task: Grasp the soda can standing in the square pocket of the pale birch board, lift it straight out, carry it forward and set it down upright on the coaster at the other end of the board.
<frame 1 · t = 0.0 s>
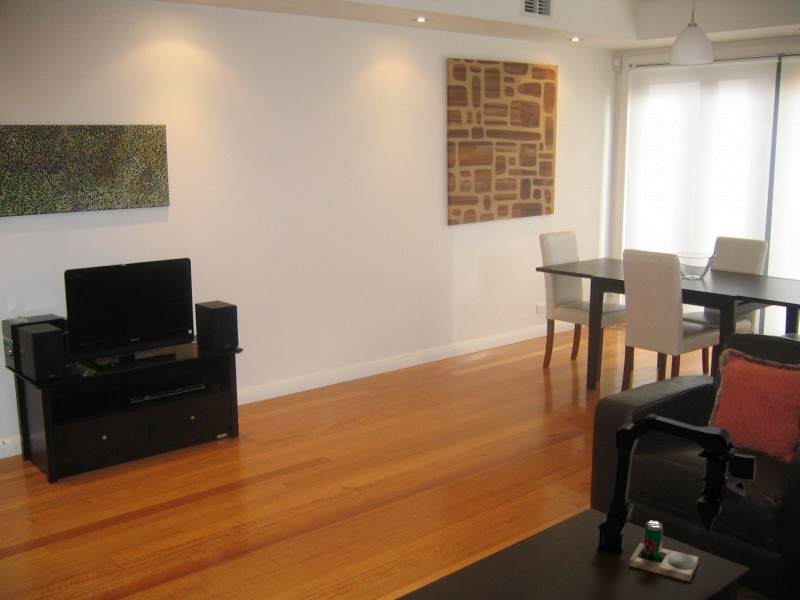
hand: (711, 524, 231), 15 cm above the table, fingers open, 9 cm apart
soda can: (651, 562, 239), resting in pocket board
pocket board: (665, 564, 237), on the table
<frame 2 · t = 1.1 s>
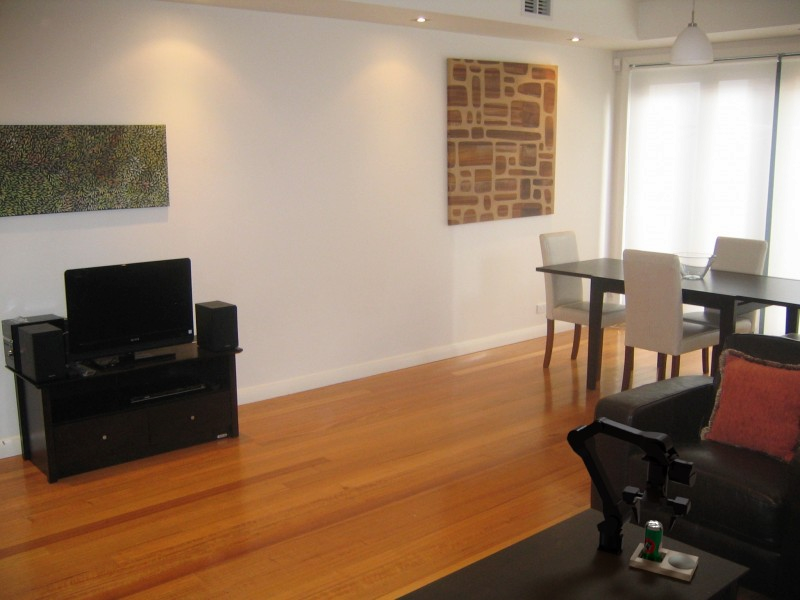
hand: (653, 527, 237), 11 cm above the table, fingers open, 9 cm apart
nothing on the table moved.
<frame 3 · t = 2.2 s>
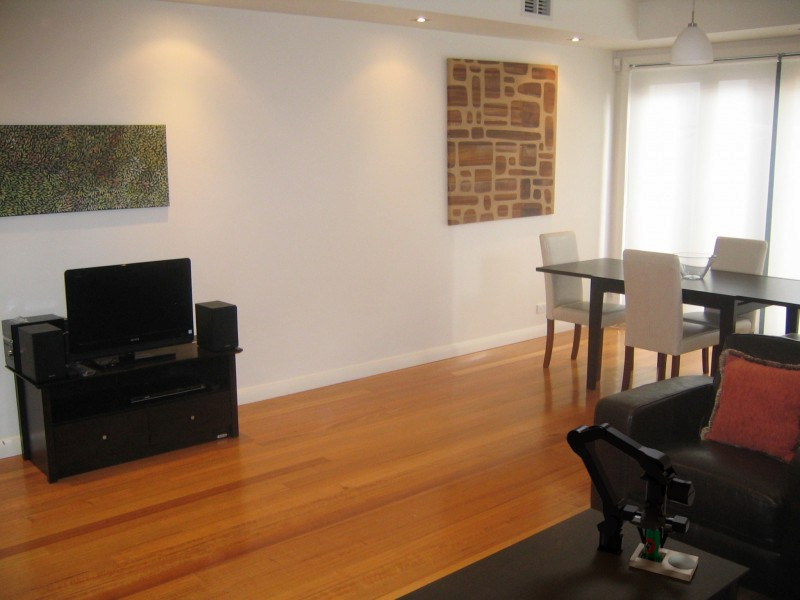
hand: (652, 545, 238), 5 cm above the table, fingers closed on soda can, 5 cm apart
soda can: (651, 562, 239), resting in pocket board, touching gripper
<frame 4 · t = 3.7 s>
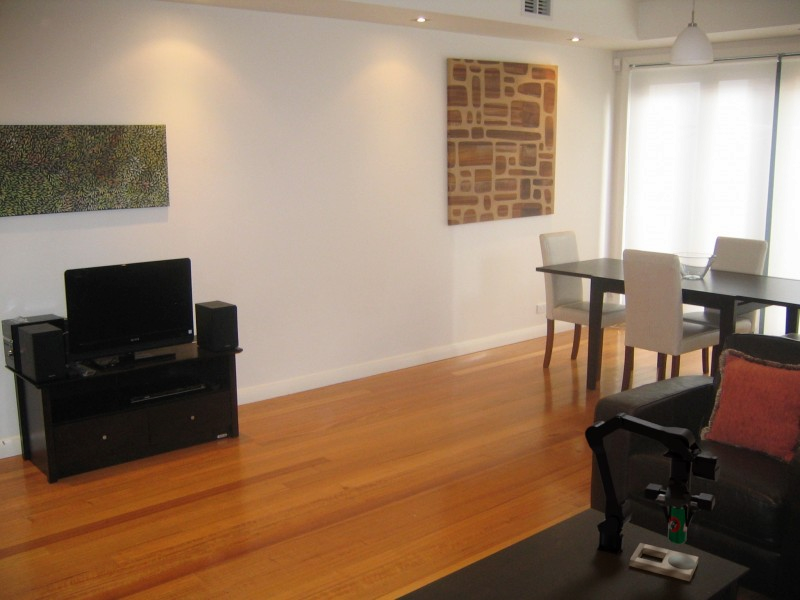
hand: (677, 524, 234), 13 cm above the table, fingers closed on soda can, 5 cm apart
soda can: (676, 541, 234), point 8 cm above the table, touching gripper
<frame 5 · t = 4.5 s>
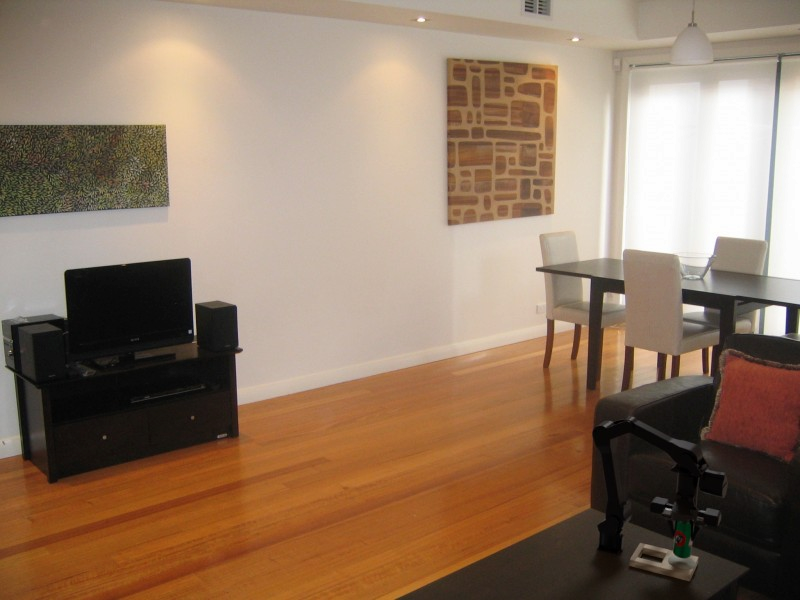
hand: (683, 538, 233), 9 cm above the table, fingers closed on soda can, 5 cm apart
soda can: (681, 555, 234), point 4 cm above the table, touching gripper
when the fingers open (8 cm above the table, at t = 5.1 s): soda can stays where it is, resting on pocket board.
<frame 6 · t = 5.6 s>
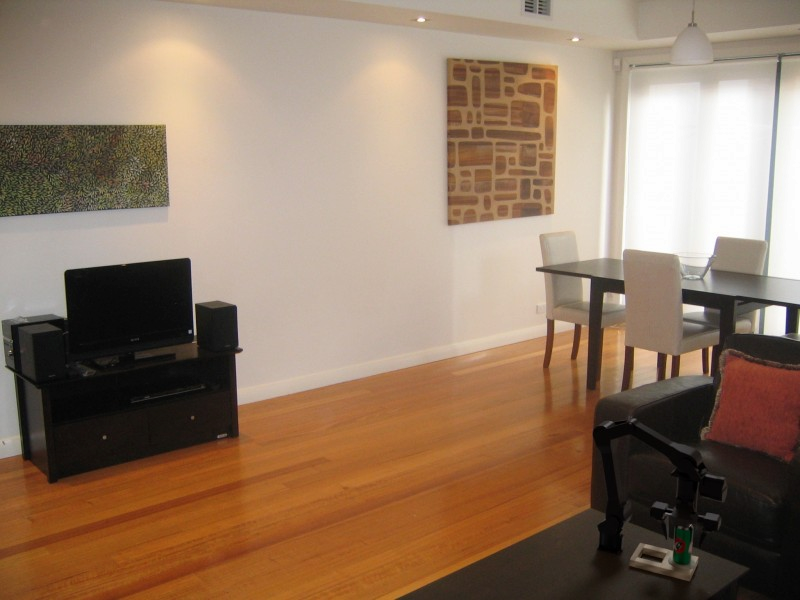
hand: (683, 543, 234), 8 cm above the table, fingers open, 9 cm apart
soda can: (681, 562, 235), point 2 cm above the table, touching pocket board
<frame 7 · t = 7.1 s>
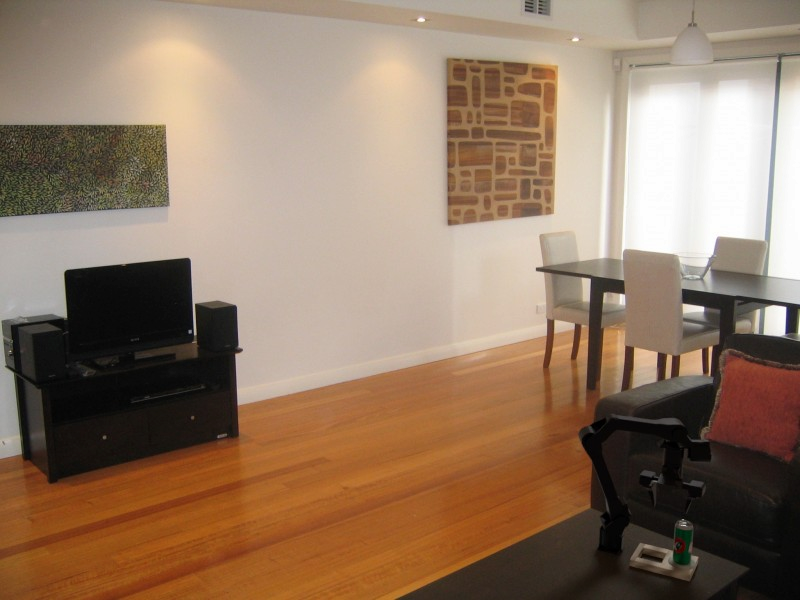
hand: (669, 510, 244), 13 cm above the table, fingers open, 9 cm apart
nothing on the table moved.
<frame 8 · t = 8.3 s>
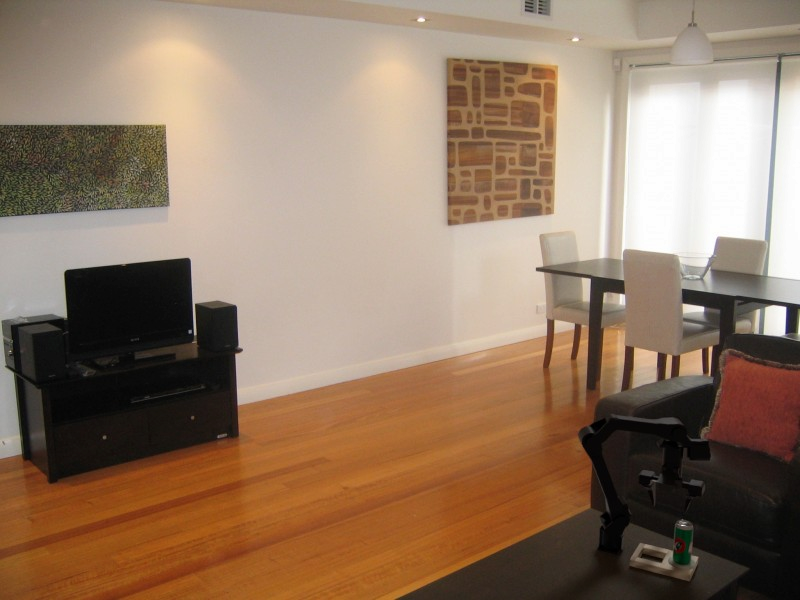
hand: (669, 509, 244), 13 cm above the table, fingers open, 9 cm apart
nothing on the table moved.
at the end: soda can 0.1 cm from the target spot on the pocket board, point 2.1 cm above the pocket board's base; soda can tilted 0°; the gripper is holding nothing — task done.
